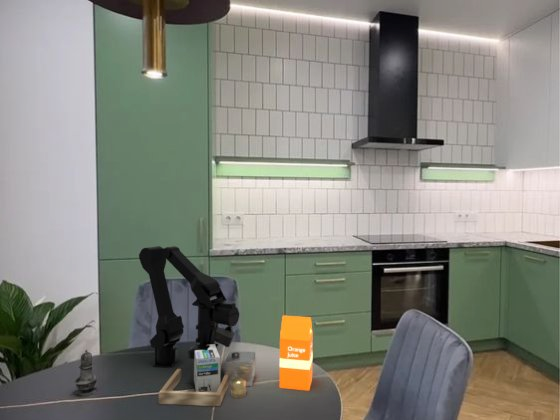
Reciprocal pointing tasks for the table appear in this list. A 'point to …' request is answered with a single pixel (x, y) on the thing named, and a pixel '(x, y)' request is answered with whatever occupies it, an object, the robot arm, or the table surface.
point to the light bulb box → (207, 369)
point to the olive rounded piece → (238, 387)
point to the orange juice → (296, 353)
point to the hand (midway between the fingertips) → (206, 369)
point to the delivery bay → (191, 393)
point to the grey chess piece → (86, 376)
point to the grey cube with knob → (241, 366)
